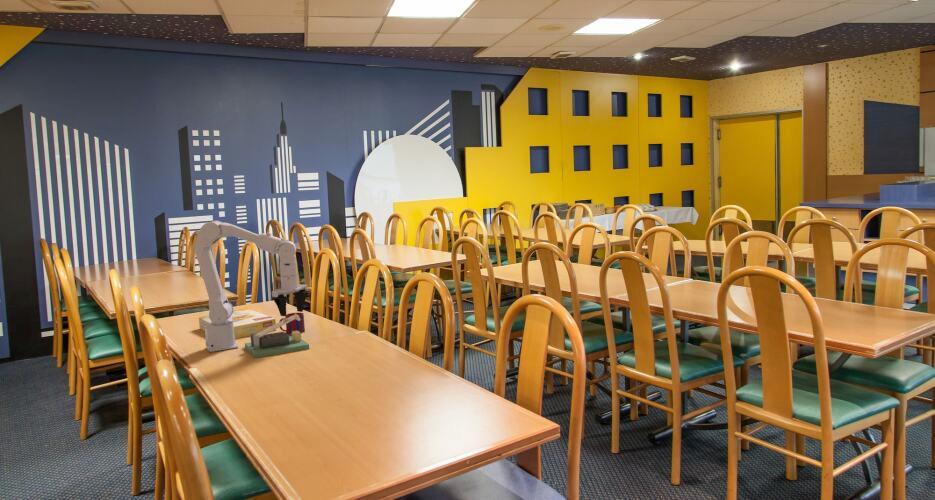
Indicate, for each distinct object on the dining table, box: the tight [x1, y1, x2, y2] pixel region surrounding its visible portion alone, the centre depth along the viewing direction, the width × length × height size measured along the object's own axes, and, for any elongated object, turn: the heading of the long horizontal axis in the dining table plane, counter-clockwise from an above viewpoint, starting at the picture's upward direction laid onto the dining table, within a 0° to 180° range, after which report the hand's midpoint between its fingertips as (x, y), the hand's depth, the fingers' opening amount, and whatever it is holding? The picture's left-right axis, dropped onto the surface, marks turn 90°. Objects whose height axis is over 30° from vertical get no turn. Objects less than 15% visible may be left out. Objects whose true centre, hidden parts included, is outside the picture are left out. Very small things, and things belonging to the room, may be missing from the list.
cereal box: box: [198, 307, 277, 339], centre depth 254 cm, size 20×6×28 cm
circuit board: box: [244, 335, 310, 359], centre depth 223 cm, size 18×16×2 cm
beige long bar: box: [253, 314, 301, 338], centre depth 223 cm, size 16×4×2 cm, turn 118°
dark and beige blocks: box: [249, 331, 302, 350], centre depth 223 cm, size 16×8×4 cm, turn 119°
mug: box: [278, 312, 306, 335], centre depth 244 cm, size 7×10×7 cm
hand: (291, 313), depth 229 cm, fingers open, 7 cm apart
